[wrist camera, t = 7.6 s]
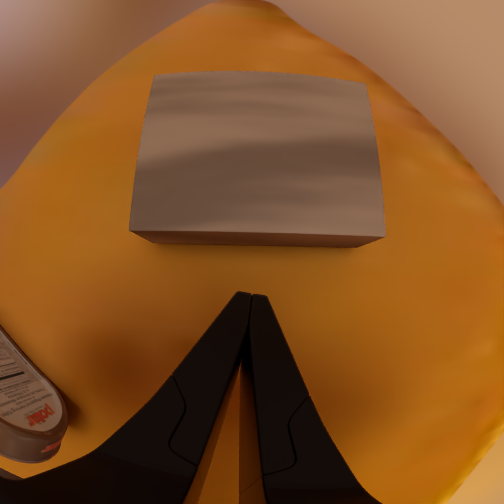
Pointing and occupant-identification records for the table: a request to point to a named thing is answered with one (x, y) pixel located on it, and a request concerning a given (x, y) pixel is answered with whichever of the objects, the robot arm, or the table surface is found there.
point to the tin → (28, 408)
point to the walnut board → (258, 161)
